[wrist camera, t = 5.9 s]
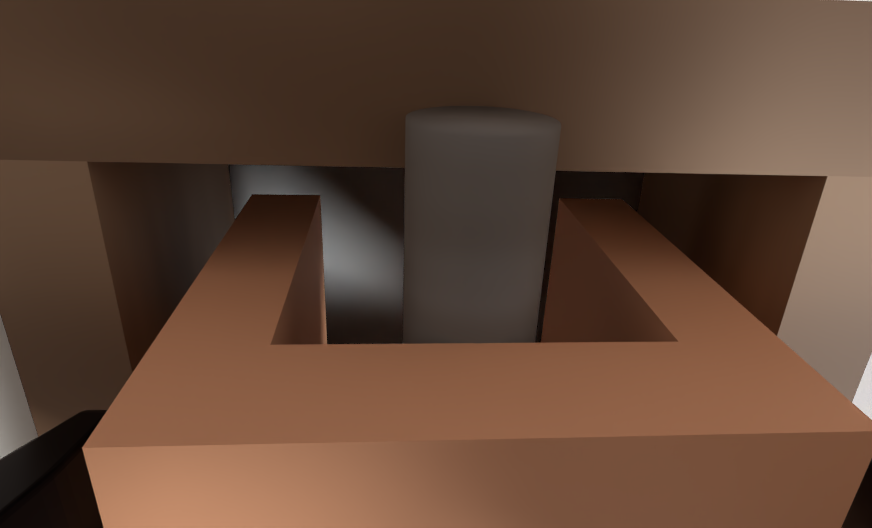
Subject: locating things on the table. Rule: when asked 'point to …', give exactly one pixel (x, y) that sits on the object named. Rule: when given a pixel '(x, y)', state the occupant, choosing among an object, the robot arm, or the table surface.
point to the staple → (474, 402)
